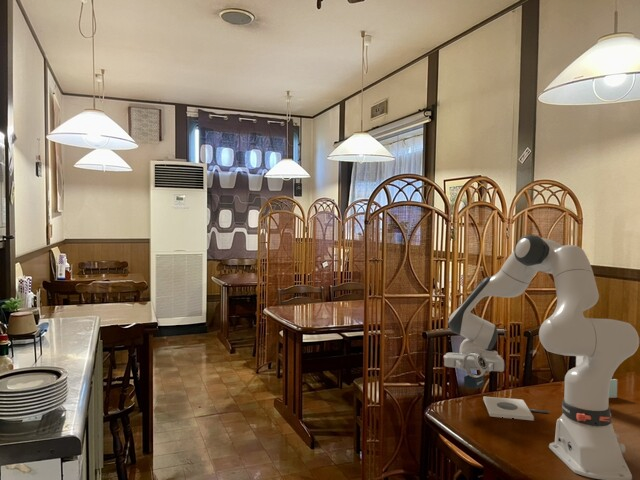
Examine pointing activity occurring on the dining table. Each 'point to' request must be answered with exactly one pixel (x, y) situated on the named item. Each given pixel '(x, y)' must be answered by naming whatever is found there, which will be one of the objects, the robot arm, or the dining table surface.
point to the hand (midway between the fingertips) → (474, 368)
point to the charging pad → (509, 408)
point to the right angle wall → (613, 388)
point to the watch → (474, 379)
